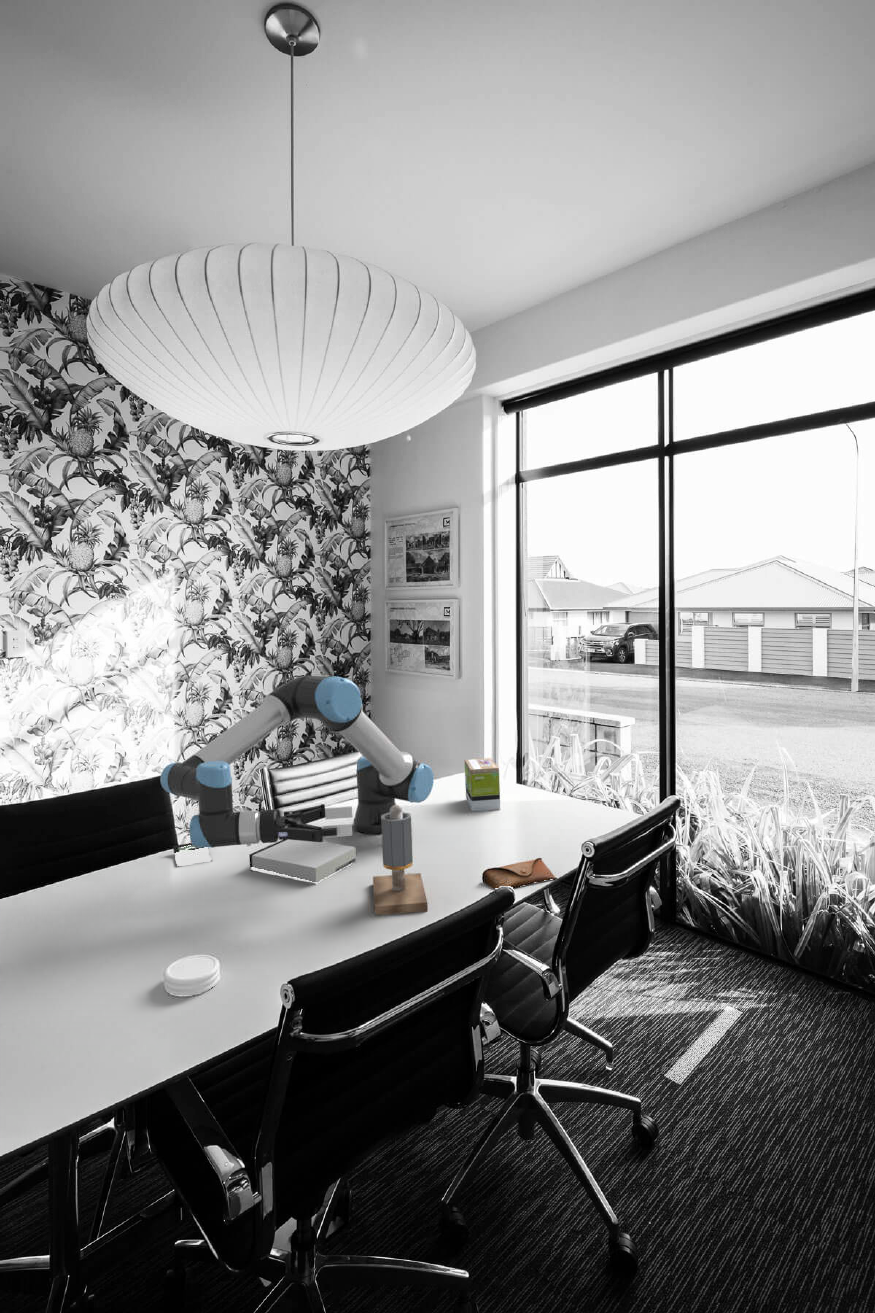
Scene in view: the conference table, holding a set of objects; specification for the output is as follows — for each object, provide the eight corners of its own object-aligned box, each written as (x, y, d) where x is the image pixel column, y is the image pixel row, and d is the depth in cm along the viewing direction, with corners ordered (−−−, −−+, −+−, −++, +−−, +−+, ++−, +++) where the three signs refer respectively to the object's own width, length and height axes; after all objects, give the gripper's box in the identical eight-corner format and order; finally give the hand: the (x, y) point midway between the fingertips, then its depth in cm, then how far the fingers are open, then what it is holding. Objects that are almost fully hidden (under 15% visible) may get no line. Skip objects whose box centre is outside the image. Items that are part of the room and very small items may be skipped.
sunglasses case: (499, 893, 172) (491, 865, 175) (486, 899, 178) (479, 872, 181) (560, 878, 180) (552, 852, 183) (546, 884, 186) (538, 858, 189)
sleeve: (383, 867, 168) (381, 821, 167) (382, 857, 175) (380, 813, 174) (413, 865, 169) (411, 819, 168) (411, 855, 176) (409, 811, 175)
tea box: (465, 799, 255) (463, 758, 254) (492, 798, 256) (491, 757, 255) (471, 812, 240) (470, 768, 239) (501, 810, 241) (500, 766, 240)
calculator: (176, 868, 197) (176, 858, 197) (173, 855, 207) (173, 845, 207) (212, 862, 201) (211, 852, 200) (207, 850, 211) (206, 840, 211)
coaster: (181, 1005, 129) (180, 986, 128) (154, 986, 135) (153, 968, 135) (230, 982, 136) (229, 964, 136) (202, 965, 143) (201, 948, 142)
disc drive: (293, 852, 208) (292, 835, 207) (356, 863, 197) (355, 845, 196) (249, 872, 193) (248, 854, 192) (315, 886, 182) (315, 867, 181)
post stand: (375, 915, 163) (371, 818, 161) (373, 884, 181) (369, 796, 179) (427, 911, 164) (424, 814, 162) (420, 880, 182) (417, 793, 180)
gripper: (267, 825, 180) (352, 819, 182) (253, 862, 155) (352, 854, 157) (266, 796, 179) (351, 790, 181) (251, 828, 154) (350, 820, 157)
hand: (352, 820), depth 169 cm, fingers open, 13 cm apart
